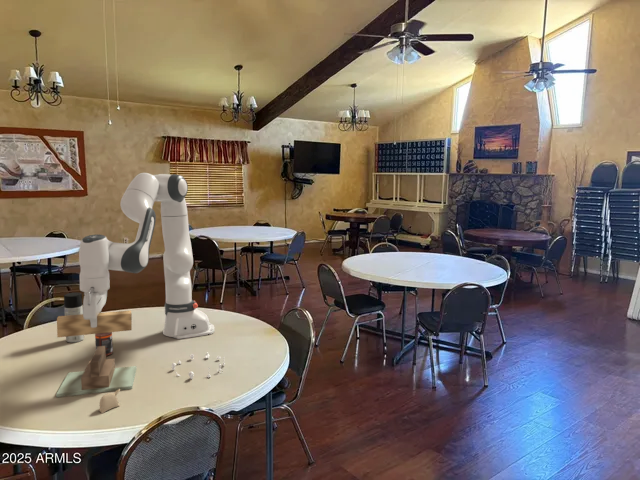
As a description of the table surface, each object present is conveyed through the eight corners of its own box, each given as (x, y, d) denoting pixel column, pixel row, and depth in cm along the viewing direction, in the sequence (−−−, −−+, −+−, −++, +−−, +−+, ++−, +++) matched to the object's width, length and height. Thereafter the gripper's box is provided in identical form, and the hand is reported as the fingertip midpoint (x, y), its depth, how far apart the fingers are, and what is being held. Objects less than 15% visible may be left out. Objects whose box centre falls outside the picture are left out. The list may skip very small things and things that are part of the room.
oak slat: (131, 327, 154) (130, 310, 153) (131, 330, 151) (131, 313, 150) (58, 333, 144) (57, 316, 144) (57, 337, 141) (56, 319, 140)
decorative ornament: (96, 410, 131) (95, 395, 131) (118, 400, 137) (118, 387, 136) (101, 413, 129) (101, 399, 129) (124, 404, 135) (123, 390, 134)
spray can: (87, 337, 188) (85, 292, 186) (77, 343, 182) (75, 296, 179) (73, 336, 189) (70, 291, 186) (62, 342, 182) (59, 295, 180)
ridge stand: (136, 368, 160) (135, 342, 158) (132, 388, 145) (131, 359, 143) (68, 375, 153) (66, 348, 152) (56, 397, 138) (54, 367, 137)
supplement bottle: (116, 353, 173) (115, 325, 172) (103, 358, 168) (102, 329, 166) (105, 350, 176) (104, 323, 174) (92, 355, 170) (91, 327, 169)
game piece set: (207, 385, 149) (207, 374, 149) (159, 374, 156) (159, 364, 156) (236, 363, 167) (236, 353, 167) (192, 354, 174) (192, 345, 174)
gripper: (99, 291, 137) (100, 334, 138) (110, 277, 156) (110, 315, 158) (76, 292, 135) (78, 335, 136) (90, 277, 154) (91, 315, 156)
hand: (95, 324), depth 147 cm, fingers closed on oak slat, 4 cm apart
